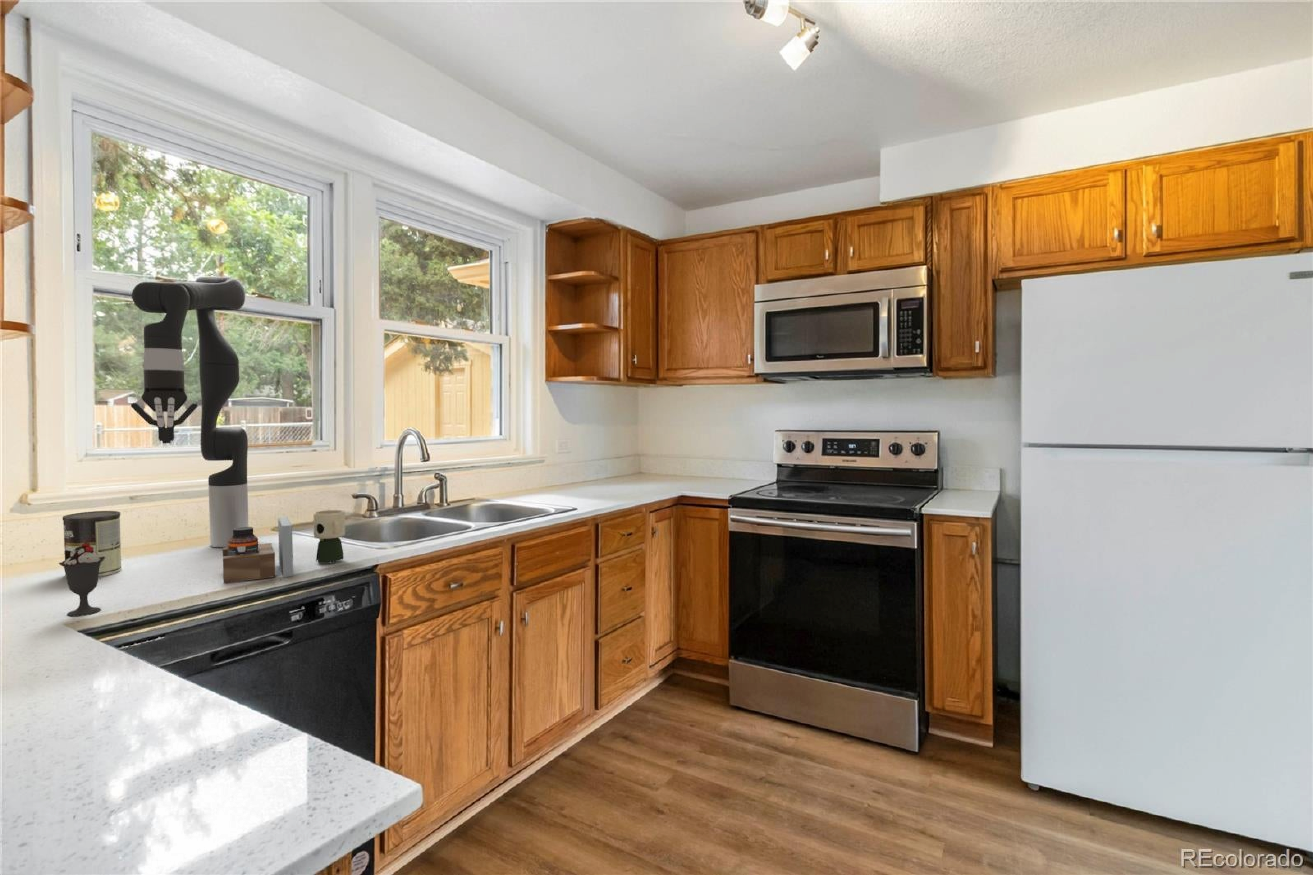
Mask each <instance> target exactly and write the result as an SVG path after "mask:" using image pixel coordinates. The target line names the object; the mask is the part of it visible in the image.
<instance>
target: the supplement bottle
mask: <svg viewBox="0 0 1313 875" xmlns="http://www.w3.org/2000/svg"><path fill="white" fill-rule="evenodd" d="M258 544H259V539H258V537H257V536H256V535H255V534H254V527H252V526H249V527H239V528H234V529H233V537H232V538H230V539H229V541H228V556H233V555H243V554H252V553H258Z"/></svg>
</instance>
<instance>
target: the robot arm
mask: <svg viewBox="0 0 1313 875" xmlns="http://www.w3.org/2000/svg"><path fill="white" fill-rule="evenodd" d="M131 299H132V302H133V304H134V305H135V307H137V308H138V309H139V310H140V311H142V312H145V313H151V314H155V313H156V314H165V316H164V318H163V319H162V320H160V321H157V322H156V321H155V322H152V323H148V324H147V323H146V324H145V326H144V327H143V359H142V360H143V362H142V368H143V393H142V395H141V399H139V400H138V401H136V402H133V403H131V405H130V407H131V408H132V409H133V411H135V412H136V413H137V414H138V415H139V416H140V417H141V418H142V419H143V420H144V421H146V423H148V424H149V425H151V426H155V427H157V429H158V433H157V434H158V441H159V442H162V444H171V441H172V442H173V441H174V439H175V427H176V426H179V425H181V424H183V423H184V422H185V421H186V420H187V419H188V418H189V417H190V415H192V414H193V412H194V411H195V410H196V409H197V408H198V404H197V403H195V402H194V401H191V400H190V399H188V395H187V394H186V391H185V390H186V389H185V362H184V355H183V354H184V353H183V340H182V338H183V337H182V334H183V329H184V324H185V321H186V318H187V316H188V311H195V314H196V321H197V330H198V346H199V348H198V350H199V351H198V352H199V353H198V355H199V356H198V357H199V358H198V359H199V360H198V364H199V365H198V366H199V368H198V370H199V381H200V382H199V384H200V398H201V418H200V420H201V422H200V452H201V455H202V458H203V459H204V460H205V461H209V462H210V461H211V462H215V461H232V464H231V465H230V466H229V467H228V468H226V469H224V470H220V471H219V472H215V473H212V474H210V475H209V476H208V479H207V480H208V481H207V482H208V505H209V508H208V510H209V514H208V516H209V545H210V547H213V548H226V547H228V541H229V539H230V538H232V537H233V529H234V528H239V527H250V526H249V498H248V497H249V496H248V452H249V451H248V448H249V447H248V446H249V441H248V434H247V431H246V430H245V429H244V428H243V427H217V421H218V418H219V415H220V413H221V411H222V409H223V407H224V406H225V404H226V402H227V401H228V399H230V397H231V396H232V394H233V393H234V391H236V388H237V387H238V385H239V383H240V363H239V362H240V360H239V357H238V355H237V352H236V351H235V350H234V349H233V347H232V346H231V344H230V343H229V342H228V340H227V338H225V336H224V335H223V333H222V332H221V330H220V328H219V326H218V323H217V320H216V313H215V312H216V311H227V312H228V311H237V310H240V309H241V308H242V307H243V306H244V304H245V302H246V292H245V288H244V284H242V282H241V281H240V280H238V278H234V277H230V276H229V277H228V276H213V275H212V276H211V275H200V276H198V277H196V278H195V281H173V282H159V281H143V282H139V283H137V284H136V285H135V286H134V288H133V289H132V291H131ZM145 404H146V405H147V406H148V407H149V408H150V410H151V411H153V412H155V416H156V419H154V418H153V417H152V416H151V415H150V414H149V413H148V412H147V411H146V410H145V409H146V405H145ZM184 404H185V405H184ZM183 405H184V408H185V411H184V412H183V413H182V414H181V415H180V416H179V417H178V418H177V419H175V415H176V414H175V412H178V411H179V410H180V408H182V406H183ZM164 412H166V414H167V415H166V422H165V413H164Z"/></svg>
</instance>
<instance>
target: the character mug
mask: <svg viewBox="0 0 1313 875" xmlns="http://www.w3.org/2000/svg"><path fill="white" fill-rule="evenodd" d="M345 535H346V512H345V510H342V509H329V510H328V509H326V510H325V509H324V510H318V511H314V512H313V536H314V537H313V538H314V539H319V541H318V543H317V551H316V558H315V562H317V563H319V564H329V563H330V564H334V562H337V561H341V560H344V558H345V556H344V550H343V543H342V540H341V537H344V536H345Z"/></svg>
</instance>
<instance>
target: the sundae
mask: <svg viewBox="0 0 1313 875" xmlns="http://www.w3.org/2000/svg"><path fill="white" fill-rule="evenodd" d="M91 537H93V538H94V537H95V536H94V535H91ZM91 537H90V538H91ZM90 538H89V539H90ZM89 539H88V540H89ZM91 539H92V538H91ZM91 539H90V540H91ZM88 540H87V542H88ZM90 540H89V542H90ZM87 542H86V543H84V544H82V546H80V547H77V548H75V549H74V550H72V551H68V550H65V549H64V552H63V553H64V560H63V561H62V562H58V564H59V565H60V566H62V567H63V568H64V573H65V574H66V577H65V578H66V583H67V586H68V589H69V591H71V593H73V594H75V595H78V596H79V605H78V607H77V608H76V609H73V610H72V611H71V610H70V611H69V612H67V614H66V616H68V617H82V616H81V615H84V616H88V615H87V614H89V615H93V614H96V613H98V611H99V612H100V611H101V610H102V608H100V607H94V606H91V605H90V604H89V601H88V595H89V594H90V593H91V592H93V591H94V590H95V588H96V587H97V586H98V581H99V577H98V575H99V568H100V564H101V562H102V561H103V560H104V559H105V557H99V555H98V554H97V553H96V552H94V551H93V550H94V548H93V547H91V546H90V545H89V542H88V543H87Z"/></svg>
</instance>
